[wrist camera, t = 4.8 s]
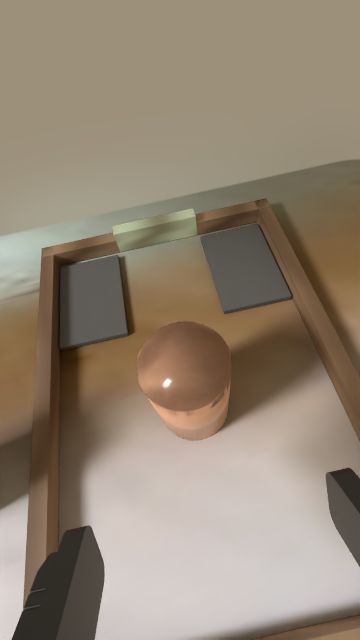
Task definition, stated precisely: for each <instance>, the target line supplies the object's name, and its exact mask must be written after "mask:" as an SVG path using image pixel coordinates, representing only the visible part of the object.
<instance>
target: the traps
mask: <svg viewBox="0 0 360 640" xmlns="http://www.w3.org/2000/svg"><path fill="white" fill-rule="evenodd" d="M201 242H202V245H203V248H204V251H205V255H206V258H207V261H208V264H209V267H210V270H211V273H212V276H213V280H214V283H215V286H216V289H217V292H218V295H219V298H220V301H221V305H222V308H223V311H224V314H227V313H232V312H236V311H241V310H245V309H249V308H254V307H258V306H263V305H267V304H272V303H276V302H281V301H285V300H289V299H291V297H292V295H291V293H290V291H289V289H288V287H287V285H286V283H285V281H284V279H283V276H282V274H281V272H280V270H279V268H278V266H277V264H276V262H275V259H274V257H273V255H272V253H271V251H270V249H269V247H268V245H267V242H266V240H265V238H264V236H263V234H262V232H261V230H260V228H259V225H258V224H254V225H250V226H245V227H241V228H236V229H232V230H227V231H223V232H218V233H214V234H209V235H205V236H201ZM125 336H129V334H128V326H127V318H126V310H125V302H124V294H123V285H122V277H121V269H120V261H119V257H118V255H115V256H111V257H106V258H102V259H97V260H93V261H88V262H84V263H79V264H75V265H70V266H66V267H61V268H60V349H61V350H67V349H71V348H76V347H80V346H85V345H89V344H94V343H98V342H103V341H107V340H111V339H116V338H120V337H125Z"/></svg>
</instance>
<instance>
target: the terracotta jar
mask: <svg viewBox="0 0 360 640" xmlns="http://www.w3.org/2000/svg"><path fill="white" fill-rule="evenodd" d="M136 371H137V378H138V381H139V384H140V386H141V388H142V390H143V392H144V393H145V395H146V396H147V398H148V399H149V401H150V402H151V403H152V405H153V406H154V408H155V409H156V411H157V412H158V414H159V415H160V417H161V418H162V420H163V421H164V423H165V424H166V426H167V427H168V428H169V429H170V430H171V432H173V433H174V434H175V435H177V436H178V437H181V438H183V439H186V440H202V439H206V438H208V437H210V436H212V435H214V434H215V433H216V432H217V431H218V430H219V429H220V428H221V427H222V425H223V424H224V422H225V420H226V417H227V414H228V406H229V395H230V384H231V374H232V358H231V353H230V351H229V348H228V346H227V344H226V342H225V341H224V340H223V338H222V337H221V336H220V335H219V334H218V333H217V332H216V331H214V330H213V329H211V328H209V327H208V326H205V325H203V324H200V323H195V322H177V323H172V324H169V325H167V326H164V327H162V328H160V329H159V330H157V331H156V332H154V333H153V334H152V335H151V336H150V337H149V338H148V339H147V340H146V342H145V343H144V345H143V346H142V348H141V350H140V352H139V355H138V359H137V366H136Z"/></svg>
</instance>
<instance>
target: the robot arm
mask: <svg viewBox="0 0 360 640" xmlns="http://www.w3.org/2000/svg"><path fill="white" fill-rule="evenodd" d="M326 483H327V492H328V501H329V509H330V513H331V517H332V519H333V522H334V524H335V527H336V529H337V530H338V532H339V534H340V535H341V537H342V539H343V540H344V542H345V544H346V545H347V547H348V548H349V550H350V552H351V553H352V555H353V557H354V558H355V560H356V561H357V563H358V565H359V566H360V478H359V477H358V476H357V475H356V474H355V472H354V471H353V470H352V469H350V468H346V469H341V470H337V471H333V472H328V473H326ZM103 586H104V562H103V558H102V556H101V553H100V550H99V547H98V544H97V541H96V539H95V536H94V533H93V530H92V528H91V526H84V527H80V528H76V529H71V530H67V531H66V532H65V533H64V535H63V538H62V541H61V544H60V547H59V550H58V552H54V553H50V554H49V556H48V557H47V558H46V560H45V561H44V563H43V564H42V566H41V567H40V568H39V570H38V571H37V574H36V576H35V579H34V582H33V584H32V587H31V590H30V595H28V598H27V600H26V603H25V606H24V611H23V612H22V614H21V616H20V619H19V622H18V624H17V627H16V630H15V632H14V635H13V638H12V640H94V639H95V633H96V627H97V621H98V615H99V609H100V603H101V598H102V592H103Z"/></svg>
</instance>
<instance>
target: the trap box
mask: <svg viewBox="0 0 360 640" xmlns="http://www.w3.org/2000/svg"><path fill="white" fill-rule="evenodd" d="M253 222H257V224H258V225H259V228H260V230H261V232H262V234H263V236H264V238H265V240H266V242H267V245H268V247H269V249H270V251H271V253H272V255H273V257H274V259H275V262H276V264H277V266H278V268H279V270H280V272H281V274H282V276H283V279H284V281H285V283H286V285H287V287H288V289H289V291H290V293H291V295H292V298H293V300H294V302H295V304H296V307H297V309H298V311H299V313H300V315H301V317H302V319H303V321H304V324H305V326H306V328H307V330H308V332H309V334H310V336H311V338H312V341H313V343H314V345H315V347H316V349H317V351H318V353H319V355H320V358H321V360H322V362H323V364H324V366H325V368H326V370H327V372H328V375H329V377H330V379H331V381H332V383H333V385H334V387H335V389H336V392H337V394H338V396H339V398H340V400H341V402H342V404H343V406H344V409H345V411H346V413H347V415H348V417H349V419H350V421H351V423H352V426H353V428H354V430H355V432H356V434H357V436H358V438H359V440H360V377H359V375H358V373H357V371H356V369H355V367H354V365H353V363H352V362H351V360H350V358H349V356H348V354H347V352H346V350H345V348H344V346H343V344H342V342H341V341H340V339H339V337H338V335H337V333H336V331H335V329H334V327H333V325H332V323H331V321H330V319H329V318H328V316H327V314H326V312H325V310H324V308H323V306H322V304H321V302H320V300H319V298H318V297H317V295H316V293H315V291H314V289H313V287H312V285H311V283H310V281H309V279H308V277H307V276H306V274H305V272H304V270H303V268H302V266H301V264H300V262H299V260H298V258H297V256H296V255H295V253H294V251H293V249H292V247H291V245H290V243H289V241H288V239H287V237H286V235H285V234H284V232H283V230H282V228H281V226H280V224H279V222H278V220H277V218H276V216H275V214H274V213H273V211H272V209H271V207H270V205H269V203H268V201H267V199H262V200H257V201H253V202H248V203H244V204H239V205H235V206H230V207H226V208H221V209H217V210H212V211H208V212H203V213H199V214H195V213H194V210H193V208H192V209H187V210H183V211H178V212H174V213H169V214H165V215H160V216H156V217H151V218H147V219H142V220H138V221H133V222H129V223H124V224H120V225H115V226H113V233H109V234H105V235H100V236H96V237H91V238H87V239H82V240H78V241H73V242H69V243H64V244H60V245H55V246H51V247H46V248H42V256H41V275H40V295H39V314H38V333H37V352H36V371H35V391H34V410H33V429H32V448H31V467H30V487H29V506H28V525H27V544H26V563H25V582H24V602H23V611H24V606H25V603H26V600H27V598H28V595H30V590H31V587H32V584H33V582H34V579H35V576H36V574H37V571H38V570H39V568H40V567H41V566H42V564H43V563H44V561H45V560H46V558H47V557H48V556H49V554H50V553H54V552H58V523H59V406H60V268H61V265H65V264H69V263H74V262H78V261H83V260H87V259H92V258H96V257H101V256H105V255H110V254H114V253H119V252H123V251H128V250H132V249H137V248H141V247H146V246H150V245H155V244H159V243H164V242H168V241H172V240H177V239H181V238H186V237H190V236H195V235H199V234H204V233H208V232H213V231H217V230H222V229H226V228H231V227H235V226H240V225H244V224H249V223H253ZM252 640H360V615H356V616H352V617H348V618H343V619H339V620H335V621H330V622H326V623H322V624H317V625H313V626H309V627H304V628H300V629H296V630H291V631H287V632H283V633H278V634H274V635H270V636H265V637H261V638H256V639H252Z"/></svg>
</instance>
